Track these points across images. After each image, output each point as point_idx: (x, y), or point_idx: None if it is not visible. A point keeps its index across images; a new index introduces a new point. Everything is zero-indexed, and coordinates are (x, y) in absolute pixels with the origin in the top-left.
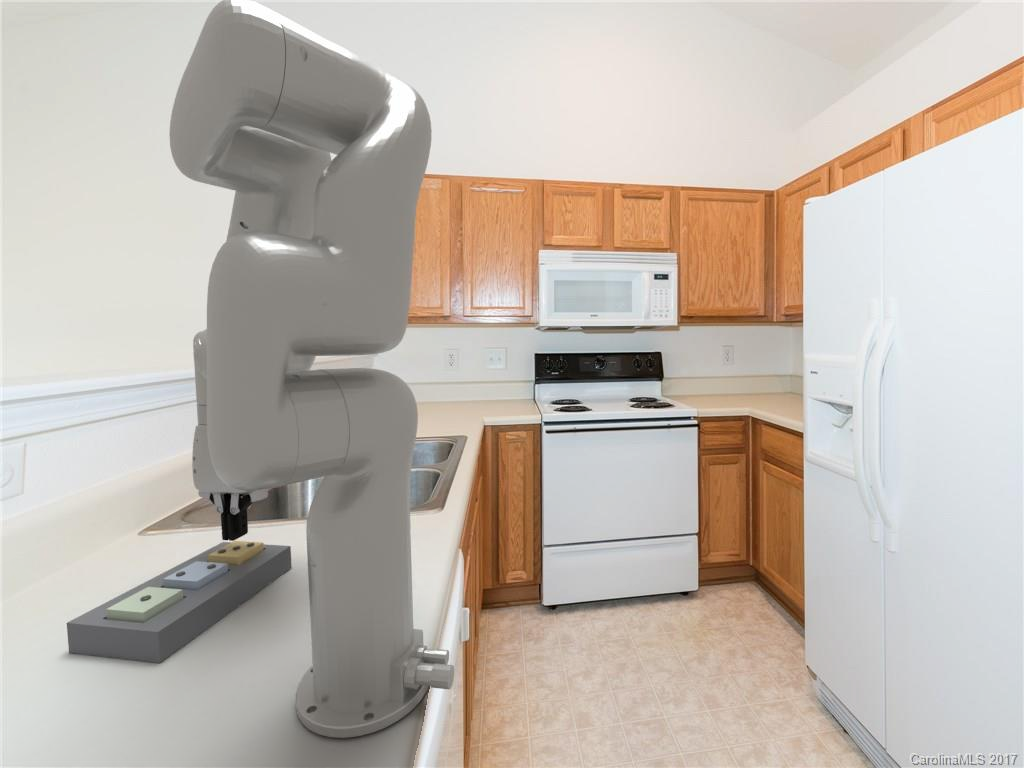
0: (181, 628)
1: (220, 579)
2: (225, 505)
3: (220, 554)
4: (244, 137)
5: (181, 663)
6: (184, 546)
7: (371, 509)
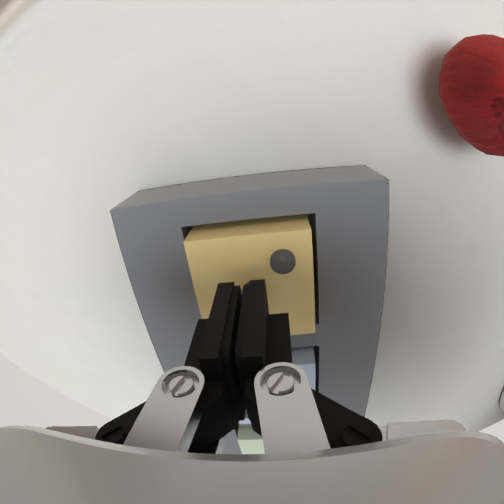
0: None
1: (330, 377)
2: (214, 442)
3: None
4: None
5: (373, 420)
6: None
7: None
